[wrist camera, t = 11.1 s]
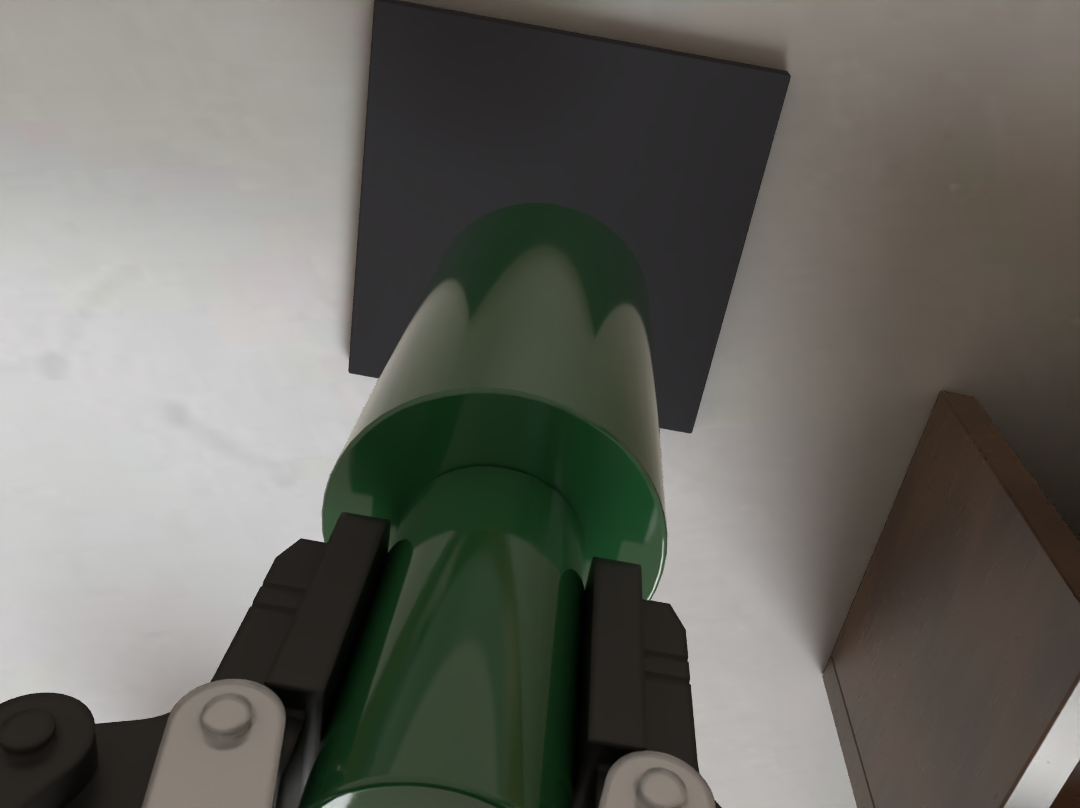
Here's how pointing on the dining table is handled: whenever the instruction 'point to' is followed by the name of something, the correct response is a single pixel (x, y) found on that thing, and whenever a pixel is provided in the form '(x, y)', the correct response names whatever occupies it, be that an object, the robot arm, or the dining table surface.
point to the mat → (559, 167)
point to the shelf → (963, 635)
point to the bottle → (495, 515)
